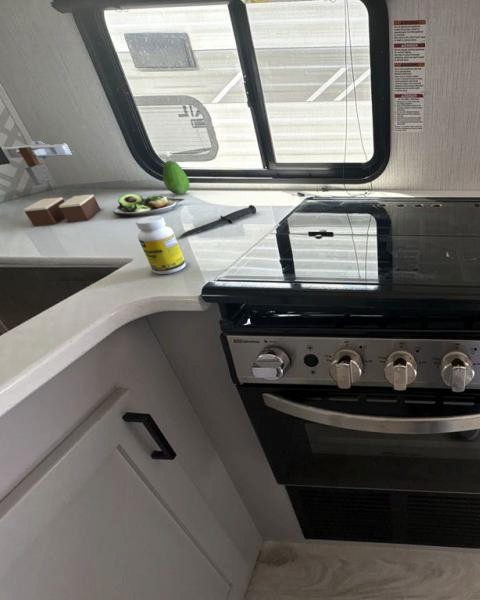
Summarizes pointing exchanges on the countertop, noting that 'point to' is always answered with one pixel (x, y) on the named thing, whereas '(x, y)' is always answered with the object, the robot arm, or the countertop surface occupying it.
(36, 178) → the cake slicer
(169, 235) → the pill bottle
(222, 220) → the knife
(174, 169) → the avocado
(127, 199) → the salad plate
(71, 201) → the cake
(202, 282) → the countertop surface
